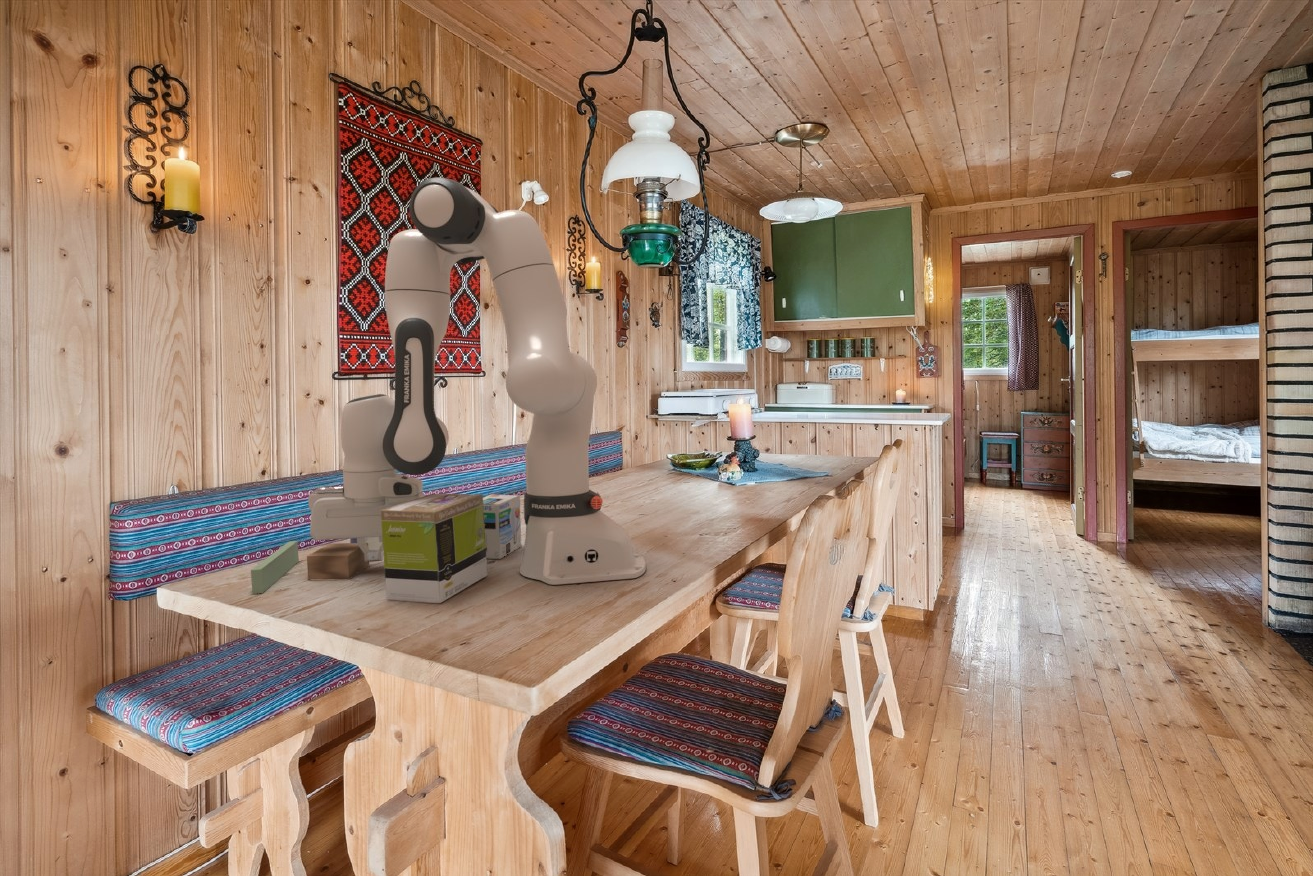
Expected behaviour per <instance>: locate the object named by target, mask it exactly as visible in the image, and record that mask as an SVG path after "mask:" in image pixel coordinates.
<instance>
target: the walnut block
mask: <svg viewBox="0 0 1313 876" xmlns="http://www.w3.org/2000/svg"><path fill="white" fill-rule="evenodd" d="M366 545H367V546H368V543H366ZM368 565H369V566H370V562H365V557H364V553H363V551H362V550H361V549H360V547H359V546H358V545H357V543H350V542H348V543H347V542H345V543H344V542H343V543H340V542H339V543H334V542H333V543H329V544H327V545H325V546H323V547H321V548H320V549H318V550H316V551H314V552H312V553H310V554H308V555H306V567H307V580H308V579H347V580H350V579H352V578H354V577H355V576H356V575H357V573H358V572H359V573H361V572H362V571H364V568H365V569H367V568H368V567H369V566H368ZM367 566H368V567H367ZM361 570H362V571H361ZM359 573H358V574H359ZM354 575H355V576H354ZM351 577H352V578H351ZM349 578H350V579H349Z"/></svg>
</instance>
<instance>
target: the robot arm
mask: <svg viewBox="0 0 1313 876" xmlns="http://www.w3.org/2000/svg"><path fill="white" fill-rule="evenodd" d="M408 206H409V209H408V210H409V215H410V219H411V221H412V223H413V226H414V227H415V228H416V229H415V228H412V229H405V230H402V231H400V232H398V233H396V234H395V235H394V236H393V237H392V238H391V240H390V242H389V247H388V251H387V255H386V265H385V271H384V272H385V275H384V278H385V279H384V299H385V300H384V301H385V312H386V313H385V314H386V320H387V324H388V330H389V334H390V337H391V344H392V347H393V353H394V399H392V398H391V397H390V396H389V395H387V394H381V393H378V394H372V395H366V396H362V397H356V398H352V399H351V400H349V401H348V402H346V403H345V405H344V406H343V408H342V409H343V410H342V413H341V422H340V423H341V424H340V440H341V441H340V442H341V449H342V451H343V454H344V457H345V461H344V460H343V465H342V476H343V477H342V478H343V479H342V480H343V481H342V483H343V485H342V486H331V487H325V486H322V487H317V488H316V489H315V490H312V491H311V492H310V493H309V494H308V498H307V500H308V501H307V502H308V508H309V510H310V511H311V513H310V514H311V515H310V525H309V526H310V527H309V533H310V537H311V538H312V539H313V540H314V541H329V540H330V541H331V540H345V539H346V540H350V538H357V545H358V546H359V547H360V549H361V550H362V551H363V553H364V557H365V562H369V563H371V562H383V561H384V553H383V543H382V542H383V536H382V525H381V510H383V509H387V508H390V507H393V506H396V505H399V504H402V503H405V502H408V501H412V500H415V499H418V498H421V497H424V496H426V494H424V492H422V491H423V487H424V484H423V481H422V479H420V478H417V477H414V476H421V475H424V474H428V473H430V472H432V471H434V470H435V469H436V468H437V467H438V466H439V465H440V464H441V463H442V461H443V460H444V458H445V455H446V452H447V447H448V444H449V431H448V428H447V426H446V425H445V423H444V422H443V421H442V420H441V419H440V418H439V417H438V416H437V415H436V411H435V410H436V409H435V364H436V358H437V353H438V351H439V348H440V347H441V346H440V345H441V343H442V342H443V340H444V339H445V335H446V334H447V329H448V325H449V319H450V315H451V314H450V311H451V273H452V272H451V271H452V269H453V267H454V265H455V264H457V265H460V266H466V265H467V264H470V263H474V262H476V261H480V260H481V261H482V260H485V262H486V265H487V267H488V270H489V274H490V277H491V280H492V281H491V282H492V284H493V287H494V291H495V295H496V299H497V302H498V306H499V309H500V312H501V317H502V320H503V324H504V329H505V335H506V336H505V337H506V347H507V348H506V349H507V359H508V369H507V371H506V374H505V389H506V393H507V395H508V397H509V399H510V400H511V401H512V403H514V405H516V406H517V407H518V408H520V409H522V410H524V411H525V412H528V413H530V414H533V417H532V423H531V430H530V434H529V438H528V441H527V442H526V446H525V451H524V453H525V454H524V455H525V459H524V460H525V483H526V486H525V487H526V492H525V493H524V494H523V520H524V524H525V526H526V527H525V539H524V546H523V547H524V548H523V553H522V559H521V563H520V567H519V570H518V571H519V573H520V575H522V577H526V578H529V579H533V580H537V581H542V582H544V583H545V584H548V585H551V586H552V585H553V586H555V585H569V584H579V583H589V582H590V583H591V582H603V581H615V580H628V579H630V580H631V579H635V578H638V577H640V576H642V575H643V574H644V573H645V572H646V570H647V564H646V560H645V557H643V556H642V555H641V554H639V553H635V552H634V551H635V550H634V545H633V542H632V541H633V540H632V539H631V536H630V533H629V531H628V530H626V528H625V527H623V526H622V525H621V524H619V523H618V522H616V521H615V520H614V519H612V518H611V517H609V516H608V515H607V514H605V513H604V512H602V511H601V509H602V505H603V498H602V496H601V495H600V493H599V492H597V491H596V492H595V491H593V490H591V489H590V471H589V470H590V467H589V447H590V446H589V445H590V434H591V429H592V419H593V412H594V401H595V394H596V391H597V387H598V377H597V374H596V371H595V369H594V367H593V366H592V365H591V364H590V362H589V361H587V360H586V359H585V357H583V356H582V355H580V354H578V353H575V352H572V351H571V350H570V346H569V340H568V331H567V315H568V309H567V306H566V301H565V298H564V295H563V291H562V287H561V285H560V284H561V283H560V281H559V277H558V273H557V270H556V267H555V263H554V260H553V257H552V255H551V252H550V249H549V247H548V244H547V242H546V239H545V237H544V235H543V233H542V231H541V229H540V227H539V225H538V222H537V221H536V219H535V218H534V217H533V216H532V215H531V214H529V213H528V212H526V211H523V210H520V209H507V210H503V211H500V212H499V211H498V210H497V208H496V207H495V206H493V204H491V203H489V202H487V200H486V199H484V198H483V196H481V195H480V194H479V193H478V192H476V191H474V190H472V189H471V188H469V187H467V186H464V184H462V183H461V182H459V181H456V180H454V179H450V178H447V177H431V178H428V179H425V180H423V181H422V182H421V183H419V184H418V185H417V186H416V187H415V188H414V190H413V192H412V194H411V196H410V200H409V205H408ZM397 472H400V473H401V474H400V473H397ZM367 537H379V542H380V543H382V545H381V546H380V548H379V550H370V549H369V548H368V546H367V545H366V541H367V540H368V539H367Z"/></svg>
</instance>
